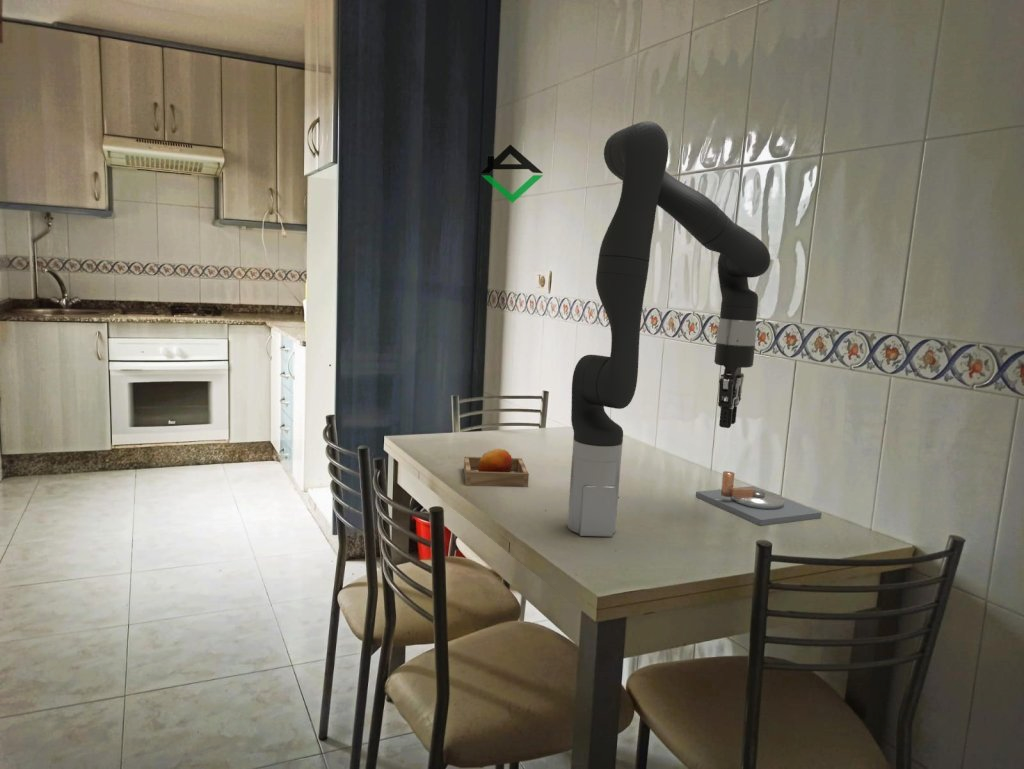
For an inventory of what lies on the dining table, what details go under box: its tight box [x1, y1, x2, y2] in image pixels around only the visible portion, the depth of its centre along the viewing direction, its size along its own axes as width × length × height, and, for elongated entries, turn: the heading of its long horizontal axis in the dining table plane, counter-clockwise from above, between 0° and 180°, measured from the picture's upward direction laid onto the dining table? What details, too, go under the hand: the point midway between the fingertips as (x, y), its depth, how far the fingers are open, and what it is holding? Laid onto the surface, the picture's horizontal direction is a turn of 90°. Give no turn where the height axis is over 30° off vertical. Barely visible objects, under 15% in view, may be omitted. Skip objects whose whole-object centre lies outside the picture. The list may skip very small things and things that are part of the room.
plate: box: [695, 485, 822, 527], centre depth 163 cm, size 20×17×2 cm
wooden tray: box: [463, 456, 530, 488], centre depth 174 cm, size 14×14×3 cm
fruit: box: [477, 448, 513, 472], centre depth 174 cm, size 8×8×8 cm
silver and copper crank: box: [721, 470, 785, 509], centre depth 162 cm, size 14×11×6 cm
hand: (727, 424), depth 152 cm, fingers open, 4 cm apart
